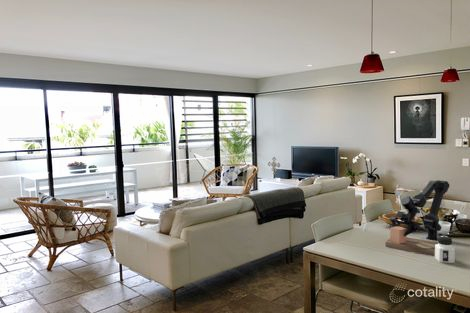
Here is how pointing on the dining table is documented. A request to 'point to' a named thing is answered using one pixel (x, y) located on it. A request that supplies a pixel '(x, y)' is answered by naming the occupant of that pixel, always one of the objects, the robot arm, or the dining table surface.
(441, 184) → the robot arm
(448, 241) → the container
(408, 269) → the dining table surface
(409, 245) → the walnut board
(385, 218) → the wooden bowl
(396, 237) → the peach colored cube
